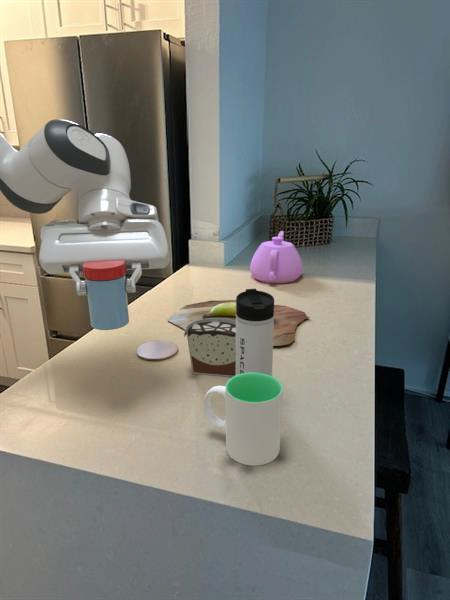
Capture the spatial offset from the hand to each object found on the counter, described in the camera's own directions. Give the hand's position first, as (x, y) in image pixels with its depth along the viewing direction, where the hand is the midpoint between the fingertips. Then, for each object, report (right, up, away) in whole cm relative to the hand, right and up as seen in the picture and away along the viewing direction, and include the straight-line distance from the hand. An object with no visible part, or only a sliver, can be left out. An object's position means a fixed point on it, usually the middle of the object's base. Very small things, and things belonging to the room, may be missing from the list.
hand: (106, 292), depth 67 cm
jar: (0, -5, +2) cm, 5 cm away
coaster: (+4, -12, +27) cm, 30 cm away
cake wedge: (+17, -15, +20) cm, 31 cm away
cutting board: (+22, -7, +44) cm, 49 cm away
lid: (0, +4, -1) cm, 4 cm away
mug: (+21, -23, -2) cm, 31 cm away
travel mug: (+23, -19, +9) cm, 32 cm away
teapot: (+36, +7, +81) cm, 89 cm away
